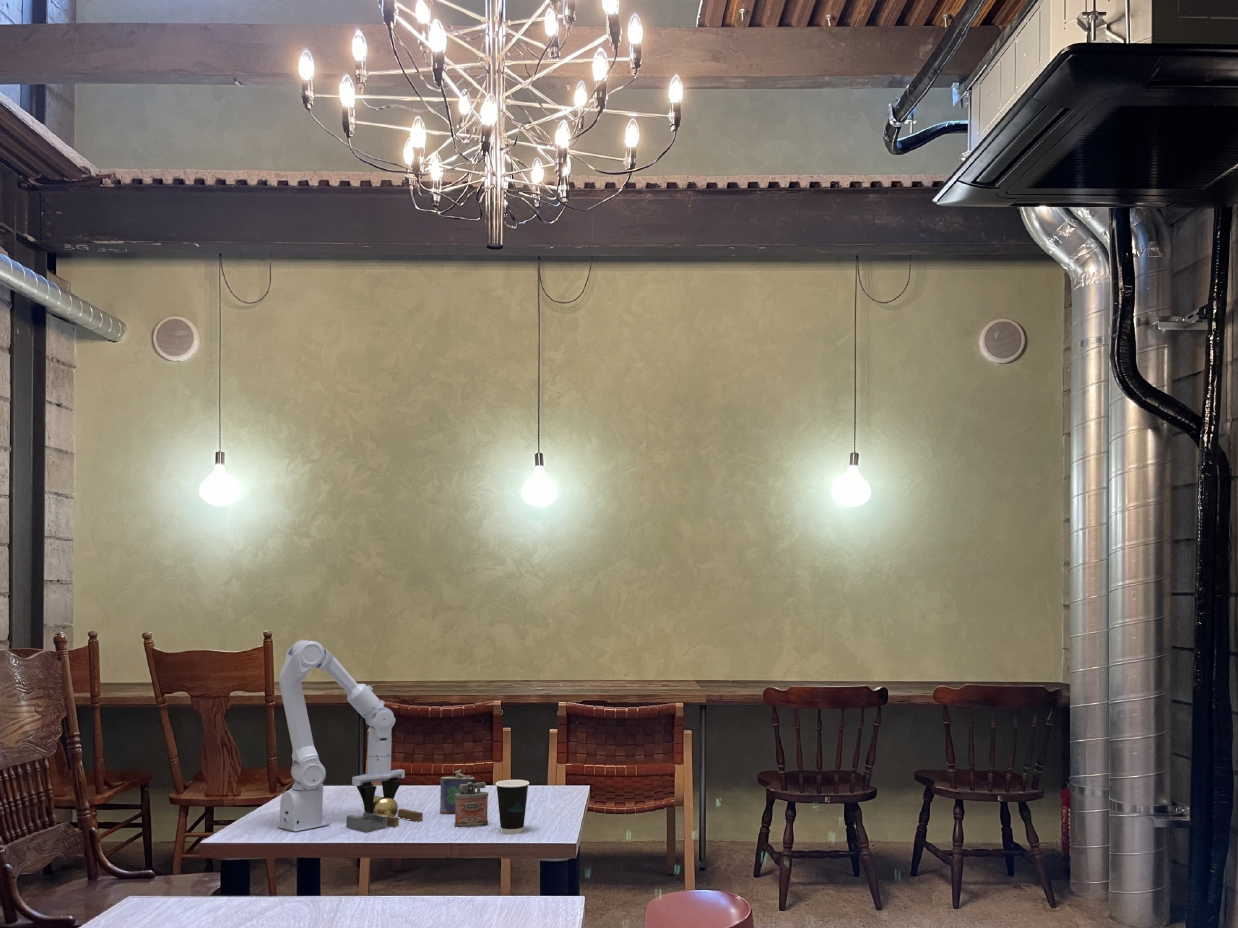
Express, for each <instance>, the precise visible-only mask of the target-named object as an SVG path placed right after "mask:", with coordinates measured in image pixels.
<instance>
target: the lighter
mask: <svg viewBox="0 0 1238 928" xmlns="http://www.w3.org/2000/svg"><path fill="white" fill-rule="evenodd" d="M486 787H487V786H486V782H485V781H483V782H475V784H472V782H468V783H467V784H462V785H460V792H461V793H457V794H455V798H456V801H455V817H454V828H456V827H467V828H478V826H480V827H487V826H489V820H488V812H489V811H488V806H489V805H488V803H489V801H488V799H489V798H488V797H489V791H481V789H486ZM464 789H466V790H465V793H464ZM474 789H475V790H474ZM476 789H477V790H476Z"/></svg>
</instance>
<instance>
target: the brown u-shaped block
mask: <svg viewBox="0 0 1238 928" xmlns="http://www.w3.org/2000/svg"><path fill="white" fill-rule="evenodd" d="M378 814H379V813H378ZM423 814H424V813H423V812H422V811H421V812H419V811H415V810H410V809H406V808H398V809H397V816H394V817H392V816H388V815H385V816H388V827H390V826H393V827H392V828H397V827H396V826H399V825H400V824H399V822H400V819H402V818H405V819H404V820H406V819H410V820H409V821H411V820H412V821H411V822H416V821H418V822H417V823H421V822H420V821H422V822H423V816H424V815H423ZM381 815H383V814H381ZM398 817H400V818H398Z"/></svg>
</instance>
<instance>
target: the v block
mask: <svg viewBox="0 0 1238 928" xmlns="http://www.w3.org/2000/svg"><path fill="white" fill-rule="evenodd" d="M362 813H363V817H361V816H357V815H352V814H350V815H346V821H345V822H346V823H345V824H346V825H345V826H346V827H347V829H351V830H354V829H355V831H359V832H363V833H369V832H370V831H371V832H373V831H374V832H375V831H379V829H380V830H383V828H384V829H387V828H386V827H389V826H388V816H385V815H381V814H376V813H371V812H365V811H364V812H362ZM346 827H345V828H346ZM371 832H370V833H371Z"/></svg>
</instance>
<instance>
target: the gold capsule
mask: <svg viewBox="0 0 1238 928" xmlns="http://www.w3.org/2000/svg"><path fill="white" fill-rule="evenodd" d="M398 809H399V807H398V803H397V801H396V799H395V798H394V799H390V798H385V797H383V796H380V795H374V803H373V813H376V814H378V813H379V814H383V815H388V816H392V817H396V815H397V814H398ZM363 811H364V812H365V808H364V807H363Z"/></svg>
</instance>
